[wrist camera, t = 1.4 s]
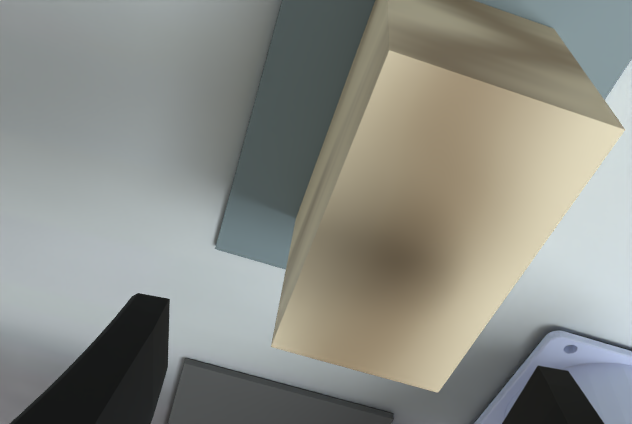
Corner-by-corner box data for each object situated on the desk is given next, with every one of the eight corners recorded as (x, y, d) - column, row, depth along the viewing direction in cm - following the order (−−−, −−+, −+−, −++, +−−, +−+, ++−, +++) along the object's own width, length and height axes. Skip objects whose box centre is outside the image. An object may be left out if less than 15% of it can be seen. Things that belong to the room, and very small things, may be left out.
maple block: (554, 28, 17) (625, 129, 12) (425, 257, 22) (438, 393, 17) (386, -31, 16) (389, 50, 11) (295, 218, 21) (271, 346, 16)
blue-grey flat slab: (688, -33, 16) (691, -31, 15) (457, 315, 24) (458, 320, 24) (327, -169, 15) (327, -167, 14) (216, 245, 23) (214, 249, 23)
